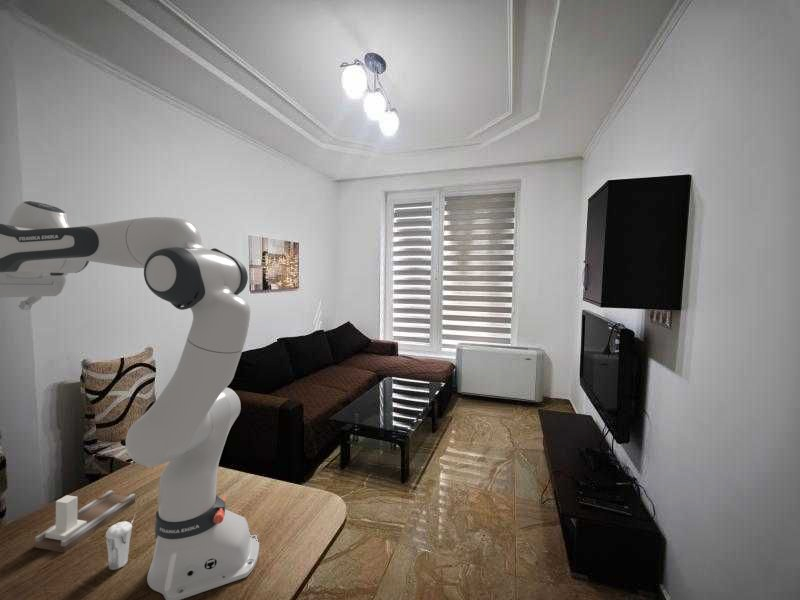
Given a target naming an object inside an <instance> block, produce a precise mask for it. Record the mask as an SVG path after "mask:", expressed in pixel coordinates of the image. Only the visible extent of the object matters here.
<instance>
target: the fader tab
mask: <svg viewBox="0 0 800 600" xmlns="http://www.w3.org/2000/svg"><path fill="white" fill-rule="evenodd" d="M78 502H79V501H78V496H77V495H75V496H74V495H68V494H66V495H64V496H62V498H59V499H57V500H56V501H55V524H56V526H55V527H54V528H52V529H50V530H49V531H47V532H46V533H45V538H51V539H56V540H62V541H63V540H64V539H66V538H67V537H69V536H70V535H72V534H73V533H75V532H76V531H78V530H79V529H80V528H82V527H83V526H85V525H86V524H87V521H83V520H77V511H78V510H79V509H78V508H79V507H78Z"/></svg>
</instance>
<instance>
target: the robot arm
mask: <svg viewBox="0 0 800 600" xmlns="http://www.w3.org/2000/svg"><path fill="white" fill-rule="evenodd" d="M90 262H94V263H99V264H106V265H113V266H119V267H124V268H133V269H134V268H135V269H143V277H144V281H145V283H146V286H147V288H148V289H149V290H150V292H152V293H153V294H154V295H155V296H157V297H158V298H160V299H161V300H163V301H167V302H169V304H171V305H172V306H174V308H175V309H177V310H181V311H182V310H183V311H184V310H187V309H190V310H191V312H192V322H191V325H190V329H189V332H188V335H187V338H186V341H185V344H184V347H183V351H182V353H181V356H180V358H179V362H178V363H177V364H178V365H177V367H176V370H175V371H174V373H173V375H172V377H171V379H170V380H169V381H168V383H167V385H166V386H165V388H164V389H163V390H162V391H161V393H160V395H159V396H158V397H157V399H156V400H155V401H154V403H153V404H152V405H151V406H150V407H149V408H148V410H146V411H145V413H143V414H142V416H140V418H138V419H137V420H136V421H134V422H133V423H132V424H131V426H130V427H129V428H128V430H127V433H126V436H125V448H126V452H127V454H128V456H129V457H130V459H131V460H132V461H133V462H134V463H136V464H138V465H139V466H142V467H144V468H152V467H156V466H159V465H162V464H163V465H164V464H166V463H168V464H166V466H165V468H164V469H163V471H162V472H161V475H160V477H159V483H158V508H157V509H158V510H157V511H156V512H155V519H154V536H155V537H154V538H155V539H156V540H155V546H154V551H153V557H152V560H151V564H150V567H149V570H148V572H147V575H146V582H147V585H148V586H149V588H150V589H152V590H153V591H155V592H158V593H160V594H162V595H163V597H164V599H165V600H184V599H187V598H189V597H192V596H196V595H198V594H201V593H203V592H207V591H211V590H213V589H216V588H218V587H221V586H224V585H226V584H230V583H233V582H236V581H239V580H241V579H244V578H245V579H246V578H247V577H248V576H249V575H250V573H252V572H253V570H254V568H255V567H256V564H257V561H258V558H259V553H260V541H259V542H258V539H257V535H258V534H257V535H256V534H254V535H250V532H249V529H250V528H249V523H248V521H247V519H246V518H245V517H244V516H243V515H240V514H237V513H235V512H233V511H230V510H228V509H226V494H224V495H223V496H222V498H221V497H219V496H218V495H217V483H218V482H217V481H218V471H219V466H220V465H219V463H220V460H221V457H222V454H223V450H224V447H225V444H226V441H227V438H228V435H229V433H230V431H231V428H232V426H233V425H234V423H235V422H236V420H237V419H238V417H239V416H240V413H241V409H242V407H241V400H240V397H239V396H238V394H237V393H236V391H234V390H233V389H232V388H231V387H228V386H229V385H230V384H231V383H232V381H233V379H234V377H235V374H236V371H237V367H238V365H239V362H240V359H241V356H242V353H243V350H244V347H245V343H246V340H247V336H248V332H249V327H250V326H249V325H250V320H251V318H250V317H251V307H250V305H249V303H248V302H247V301H246V300H245V299H244V298H242V297H241V296H239V294H241V293H242V292H243V291H244V290H245V288H246V286H247V284H248V281H249V280H248V279H249V275H248V271H247V269H246V266H245V265H244V264H243V262H241V261H240V260H239V259H238V258H235V257H233V256H231V255H229V254H228V253H225V252H223V251H222V250H220V249H218V248H216V247H215V248H214V247H212V248H211V249H210V248H206V247H205V246H204V245H203V243H202V237H201V234H200V232H199V231H198V229H197V228H196V227H195V226H194V224H192V223H191V222H189V221H188V220H185V219H183V218H178V217H166V216H154V217H153V216H150V217H140V218H139V217H138V218H133V219H125V220H119V221H111V222H105V223H97V224H96V223H95V224H89V225H88V224H87V225H82V226H81V225H79V226H70V224H69V221H68V214H67V212H65V211H64V210H62V209H61V208H59V207H56V206H55V205H49V204H46V203H42V202H36V201H34V200H33V201H31V200H29V201H25V200H24V201H21V203H20V204H18V205H17V206H16V208H15V209H14V211H13V212H12V214H11V215H10V217H9V220H8V221H7V223H6V224H4V223H0V298H27V299H25V300H21V301H20V302H19V305H18V307H19V309H21V310H23V311H25V310H27V311H28V310H31V309H32V306H33V305H34V304H36V303H37V302H40V301H41V300H42V297H56V296H58V295H60V294H61V293H62V292H63V290H64V287H65V284H66V281H67V278H66V277H67V275H69V274H73V273H75V274H76V273H80V272H82V271H83V270H84V269H85V268H87V266H88V264H89V263H90ZM250 536H251V537H250ZM255 538H256V539H255ZM256 540H257V541H256Z"/></svg>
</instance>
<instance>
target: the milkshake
mask: <svg viewBox="0 0 800 600" xmlns="http://www.w3.org/2000/svg"><path fill="white" fill-rule="evenodd" d="M136 516H137V514H136V513H134V515H133V518H132V520H131V522H130V521H127V520H126V521H119V522H117V523H114V524H113V525H110V526H109V527H108V529H107V531H106V532H105V540H106V548H107V558H108V559H107V561H108V569H109V570H111V571H115V570H120V568H122V567H125V565H126V564H127V563H128V559H129V553H130V552H129V551H130V543H131V542H130V541H131V536H132V531H133V529H132V528H133V522H134V520H135V519H136Z"/></svg>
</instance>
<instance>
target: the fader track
mask: <svg viewBox="0 0 800 600" xmlns="http://www.w3.org/2000/svg"><path fill="white" fill-rule="evenodd" d="M135 503H136V494H135V493H130V494H129V495H122V494H121V495H120V494H117V493H114V490H111V489H110V490H108V491H107V492H105V493H103V494H102V495H100V496H98V497H96V499H94V500H92V501H91V502H89V503H87V504H86V505H84V506H82V507H81V508H80V509H78V510H77V520H83V521H87V524H86V525H85V526H83V527H82V528H80V529H79V530H78V531H76V532H75V533H73V534H72V535H70V536H69V537H67V538H66V539H64V540H63V541H62V540H56V539H51V538H45V533H46V532H47V531H49V530H50V529H52V528H54V527H55V526H56V523H55V524H54V525H52V526H50V527H49V528H47V529H46V530H44V531H43V532H41V533H39V534H38V535H36V536H35V537H34V547H35V548H37V549H43V550H48V551H54V552H60V553H63V554H64V553H66V552H68V551H69V550H71V549H72V548H73V547H75V546H76V545H77V544H79V543H80V542H82V541H84V539H86V538H87V537H89V536H90V535H92V534H93V533H94V532H95V531H97V530H99V529H100V528H101V527H103V526H104V525H106V524H107V523H108V522H110V521H111V520H112V519H114V518H116V517H117V516H119V514H121V513H123V512H125V510H127V509H128V508H129V507H131V506H132V505H134V504H135Z"/></svg>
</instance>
